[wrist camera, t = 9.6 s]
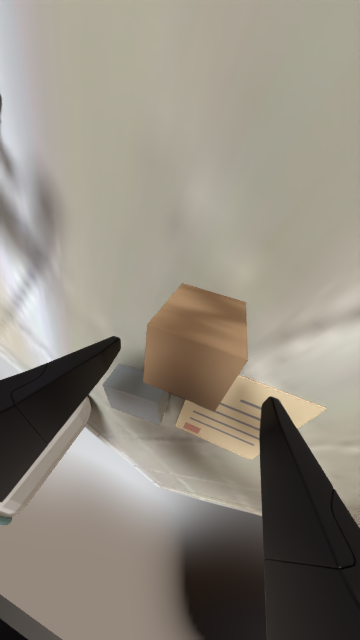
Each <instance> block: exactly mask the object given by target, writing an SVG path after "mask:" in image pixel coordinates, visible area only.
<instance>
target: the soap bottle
mask: <svg viewBox="0 0 360 640" xmlns="http://www.w3.org/2000/svg"><path fill="white" fill-rule="evenodd" d="M90 413H91V405H90V399H89V398H88V396H87V397H86V398H85V399H84V401H83V402H82V403H81V404H80V406H79V407H78V408H77V409H76V411H75V412H74V413H73V414H72V416H71V417H70V418H69V419H68V421H67V422H66V423H65V424H64V426H63V427H62V428H61V429H60V431H59V432H58V433H57V434H56V436H55V437H54V438H53V439H52V441H51V442H50V443H49V444H48V446H47V447H46V448H45V450H44V451H43V452H42V453H41V455H40V456H39V457H38V458H37V460H36V461H35V462H34V463H33V465H32V466H31V467H30V469H29V470H28V471H27V472H26V474H25V475H24V476H23V477H22V479H21V480H20V481H19V482H18V484H17V485H16V486H15V487H14V489H13V490H12V491H11V492H10V494H9V495H8V496H7V497H6V499H5V500H4V501H3V502H0V526H1V525H8V524H9V523H10V522H11V521H12V517H13V516H14V515H16V514H18V513H20V512H21V511H22V510H23V509H24V508H25V507H26V506H27V505H28V503H29V502H30V500H31V499H32V498H33V496H34V495H35V493H36V492H37V491H38V490H39V488H40V487H41V485H42V484H43V483H44V481H45V480H46V479H47V477H48V476H49V475H50V473H51V472H52V470H53V469H54V468H55V466H56V465H57V464H58V462H59V461H60V460H61V458H62V457H63V455H64V454H65V453H66V451H67V450H68V449H69V447H70V446H71V445H72V443H73V442H74V441H75V439H76V438H77V436H78V435H79V434H80V432H81V431H82V430H83V428H84V427H85V425H86V423H87V421H88V419H89V416H90Z"/></svg>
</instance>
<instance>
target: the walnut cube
mask: <svg viewBox="0 0 360 640" xmlns="http://www.w3.org/2000/svg"><path fill="white" fill-rule="evenodd" d="M247 361H248V350H247V322H246V302H243V301H240V300H236V299H233V298H230V297H226V296H223V295H220V294H216V293H213V292H210V291H206V290H203V289H200V288H197V287H193V286H190V285H187V284H183V283H182V284H181V285H180V287H179V288H178V289H177V290H176V291H175V292H174V294H173V295H172V296H171V297H170V298H169V300H168V301H167V302H166V303H165V304H164V305H163V307H162V308H161V309H160V310H159V311H158V313H157V314H156V315H155V316H154V317H153V318H152V320H151V321H150V322H149V323H148V324H147V336H146V349H145V362H144V375H143V382H144V383H147V384H149V385H152V386H154V387H156V388H159V389H161V390H164V391H166V392H169V393H171V394H173V395H176V396H178V397H181V398H183V399H185V400H188V401H190V402H193V403H195V404H198V405H200V406H202V407H205V408H207V409H210V410H212V411H215V410H216V409H217V407H218V406H219V404H220V403H221V401H222V399H223V398H224V396H225V395H226V393H227V392H228V390H229V389H230V387H231V386H232V384H233V382H234V381H235V379H236V378H237V376H238V375H239V373H240V372H241V370H242V368H243V367H244V365H245V364H246V362H247Z"/></svg>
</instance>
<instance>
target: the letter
mask: <svg viewBox="0 0 360 640" xmlns="http://www.w3.org/2000/svg"><path fill="white" fill-rule="evenodd" d="M269 396H272V397H275V398H277V399H279V400H280V402H281V404H282V405H283V407H284V408H285V410H286V412H287V413H288V415H289V416H290V418H291V420H292V421H293V423H294V425H295V426H296V428H297V429H298V428H299V427H301V426H302V425H304V424H305V423H307V422H308V421H310V420H311V419H313V418H314V417H316V416H317V415H319V414H320V413H321V412H323V411H324V410H326V408H325V407H323V406H320V405H317V404H315V403H312V402H309V401H307V400H304V399H301V398H298V397H296V396H293V395H290V394H288V393H285V392H282V391H280V390H277V389H274V388H272V387H269V386H266V385H264V384H261V383H258V382H256V381H253V380H250V379H248V378H245V377H242V376H240V375H238V376H237V378H236V379H235V381H234V382H233V384H232V386H231V387H230V389H229V390H228V392H227V393H226V395H225V396H224V398H223V399H222V401H221V403H220V404H219V406H218V407H217V409H216V410H215V411H212V410H210V409H207V408H205V407H202V406H200V405H198V404H195V403H193V402H190V401H188V400H185V402H184V405H183V407H182V410H181V412H180V415H179V417H178V420H177V422H176V425H175V427H177V428H180V429H182V430H184V431H186V432H189V433H191V434H193V435H195V436H198V437H200V438H202V439H204V440H207V441H209V442H211V443H213V444H216V445H218V446H220V447H222V448H225V449H227V450H229V451H231V452H234V453H236V454H238V455H240V456H243V457H245V458H247V459H249V460H251V459H253V458H254V457H256V456H257V455H259V454H260V442H259V434H260V419H261V407H262V404H263V402H264V401H265V400H266V399H267V398H268V397H269Z"/></svg>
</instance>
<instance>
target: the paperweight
mask: <svg viewBox="0 0 360 640" xmlns="http://www.w3.org/2000/svg"><path fill="white" fill-rule="evenodd" d="M143 375H144V371H142V370H139V369H135V368H132V367H128V366H125V365H122V364H119V365H118V366H117V367H116V369H115V370H114V371H113V372H112V373H111V375H110V376H109V377H108V378H107V380H106V381H105V382H104V383H103V387H104V390H105V392H106V395H107V397H108V400H109V403H110V405H111V407H112V408H114V409H117V410H120V411H122V412H125V413H128V414H130V415H133V416H136V417H138V418H141V419H144V420H146V421H149V422H152V423H154V424H157V425H160V423H161V421H162V418H163V416H164V413H165V411H166V408H167V405H168V403H169V392H166V391H164V390H161V389H159V388H156V387H154V386H152V385H149V384H147V383H144V382H143Z"/></svg>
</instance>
